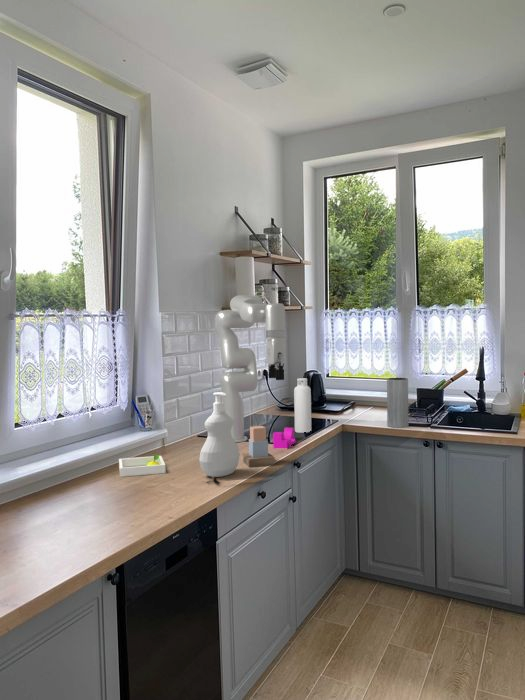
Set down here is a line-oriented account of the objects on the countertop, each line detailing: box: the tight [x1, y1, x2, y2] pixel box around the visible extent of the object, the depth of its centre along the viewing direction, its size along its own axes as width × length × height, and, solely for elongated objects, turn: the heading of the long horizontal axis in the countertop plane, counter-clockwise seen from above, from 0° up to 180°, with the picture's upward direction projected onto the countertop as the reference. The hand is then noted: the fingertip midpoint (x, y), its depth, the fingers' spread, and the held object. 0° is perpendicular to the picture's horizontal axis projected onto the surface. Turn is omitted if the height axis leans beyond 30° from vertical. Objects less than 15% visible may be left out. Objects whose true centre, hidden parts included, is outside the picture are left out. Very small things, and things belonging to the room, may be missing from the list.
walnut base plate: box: [242, 452, 276, 468], centre depth 215 cm, size 10×10×3 cm
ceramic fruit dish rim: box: [118, 455, 166, 478], centre depth 208 cm, size 16×16×3 cm
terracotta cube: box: [249, 425, 267, 442], centre depth 215 cm, size 5×5×5 cm
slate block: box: [248, 438, 269, 458], centre depth 215 cm, size 6×6×6 cm
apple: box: [146, 454, 160, 466], centre depth 212 cm, size 7×6×9 cm
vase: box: [386, 377, 410, 429], centre depth 270 cm, size 10×10×27 cm
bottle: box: [293, 377, 312, 434], centre depth 268 cm, size 8×8×28 cm
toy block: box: [272, 427, 296, 449], centre depth 244 cm, size 15×6×8 cm, turn 156°
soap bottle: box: [198, 391, 241, 478], centre depth 199 cm, size 17×12×29 cm
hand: (276, 378), depth 217 cm, fingers open, 9 cm apart
